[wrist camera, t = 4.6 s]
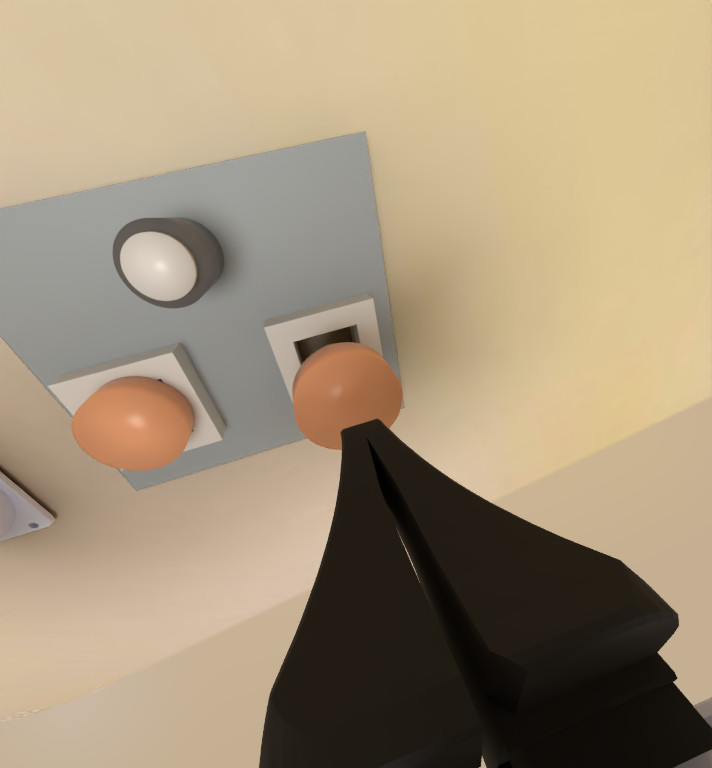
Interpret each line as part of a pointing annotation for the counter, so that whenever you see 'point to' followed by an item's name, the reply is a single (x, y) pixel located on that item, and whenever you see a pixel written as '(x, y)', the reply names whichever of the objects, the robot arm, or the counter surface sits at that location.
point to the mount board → (218, 305)
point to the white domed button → (167, 260)
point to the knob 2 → (343, 392)
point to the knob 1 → (134, 424)
